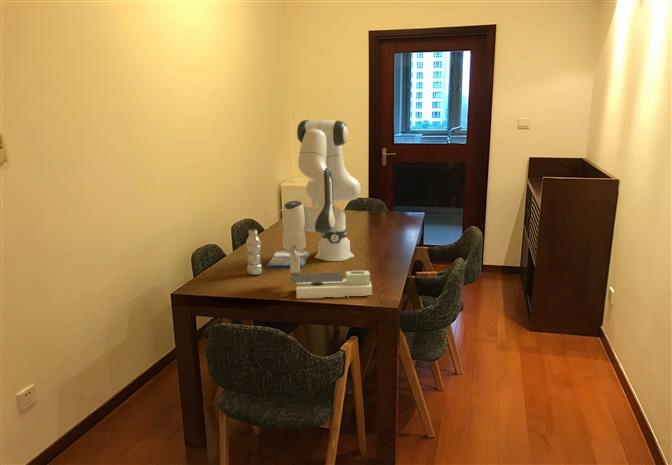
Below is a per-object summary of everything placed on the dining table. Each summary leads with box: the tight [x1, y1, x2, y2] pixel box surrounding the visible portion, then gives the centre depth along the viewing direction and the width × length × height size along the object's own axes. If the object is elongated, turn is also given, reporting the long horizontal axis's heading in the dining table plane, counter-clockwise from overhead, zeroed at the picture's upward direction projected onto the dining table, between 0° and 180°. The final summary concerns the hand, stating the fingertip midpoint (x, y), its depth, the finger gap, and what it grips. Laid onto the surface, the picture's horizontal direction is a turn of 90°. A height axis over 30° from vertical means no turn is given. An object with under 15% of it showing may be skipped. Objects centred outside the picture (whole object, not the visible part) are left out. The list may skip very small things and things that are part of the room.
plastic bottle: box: [245, 228, 263, 276], centre depth 234 cm, size 6×7×20 cm
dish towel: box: [266, 250, 310, 270], centre depth 255 cm, size 17×24×3 cm
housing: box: [295, 278, 373, 300], centre depth 211 cm, size 10×29×4 cm, turn 93°
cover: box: [345, 269, 371, 285], centre depth 211 cm, size 5×9×5 cm, turn 93°
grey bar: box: [290, 271, 344, 284], centre depth 210 cm, size 3×20×4 cm, turn 93°
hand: (295, 276), depth 214 cm, fingers closed
